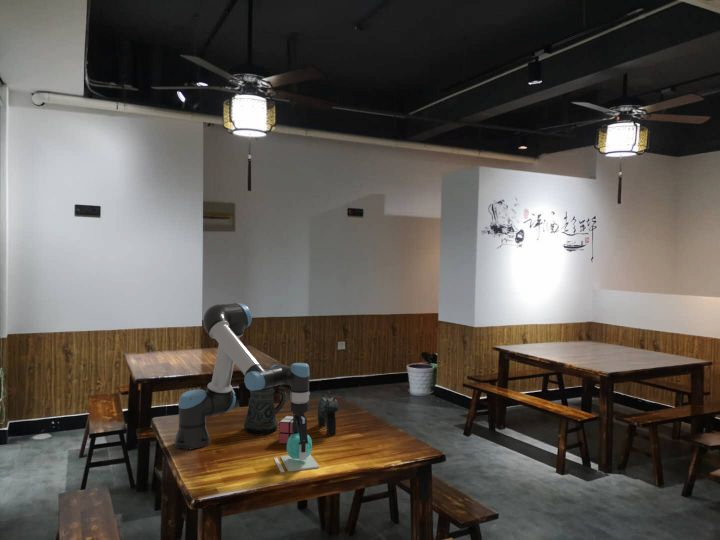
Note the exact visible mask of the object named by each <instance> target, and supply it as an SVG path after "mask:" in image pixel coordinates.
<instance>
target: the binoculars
mask: <svg viewBox="0 0 720 540" xmlns="http://www.w3.org/2000/svg"><path fill="white" fill-rule="evenodd" d="M327 393H328V396H327V395H326V394H322V397H321V398H320V399H319V401H318V405H317V424H318V427H321V426H323V427H326V434H327V435H328V436H333V435H334V434H337V430H336V429H337V422H336V412H338V411H339V403H338V400H337V399H336V397H334V396H332V397H331V398H330V396H331V395H330V393H331V392H330V390H327ZM324 396H325V397H324ZM334 436H335V435H334Z"/></svg>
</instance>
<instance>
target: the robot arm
mask: <svg viewBox="0 0 720 540" xmlns="http://www.w3.org/2000/svg"><path fill="white" fill-rule="evenodd" d="M202 320H203V321H202V323H203V327H204V329H205V332H206V333H207V334H208V335H209V337H210V338H211V339H215V341H216V342H217V343H218V347H217V352H216V358H215V363H214V367H213V373H212V378H211V382H209V383H208V384H207V387H206V390H204V389H201V388H200V389H197V388H196V389H191V390H187V391H184V392H183V393H182V394H181V395H180V396H179V399H178V429H177V433H176V436H175V439H174V447H175V446H176V447H178V448H177V449H179V448H184V449H183V450H193V449H192V448H198V449H200V448H199V447H202V448H204V447H203V446H205V447H207V446H209V444H210V441H211V439H210V435H209V432H208V429H207V418H211V417H213V416H217V415H223V414H225V413H228V412H230V411H232V410H233V408H234V407H235V405H236V401H237V396H236V392H235V390H234V388H233V386H232V385H231V381H232V376H233V372H234V367H235V366H236V367H237V368H238V369H239V371H241V373H242V374H243V375H244V379H243V380H244V381H243V382H244V385H245V387H246V389H247V390H249V391H250V390H251V391H254V390H261V389H264V388H268V387H272V386H276V385H279V386H280V385H286V386H290V401H291V402H290V411H291V412H292V413H293V414H292V416H293V425H292V432H293V434H297V433H299V437H300V443H298V444H299V460H306V444H308V437H307V435H308V426H307V425H308V423H307V421H308V418H307V417H306V415H305V413H307V412H309V411H310V402H309V400H310V395H311V392H310V366H309V364H308V363H307V362H306V363H304V362H294V363H292V364H291V365H290V366H288V365H282V364H273V365H271V366H270V367H269V368H264V367H263V366H262V365H261V364H260V363H259V361H258V360H257V359H256V358H255V357H254V355H253V354H252V353H251V352H250V351H249V350H248V348H247V347H246V346H245V345H244V343H243V342H242V341H241V339H240V338H241V337H243V335H244V333H245V329H247V328H248V327H250V325H251V323H252V320H253V318H252V312H251V310H250V308H249V307H248V306H247V305H246V304H245V303H238V302H233V303H225V304H224V303H222V304H220V303H218V304H214V305H211V306H210V307H209V308H208V309H206V311H205V313H204V315H203V319H202ZM303 440H305V441H303ZM206 445H207V446H206ZM176 447H175V448H176ZM190 448H191V449H190Z"/></svg>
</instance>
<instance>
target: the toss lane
mask: <svg viewBox="0 0 720 540" xmlns="http://www.w3.org/2000/svg"><path fill="white" fill-rule="evenodd" d="M280 459H281V460H282V461H281V462H282V463H283V465H284V466H285V468H286V470H287V471H288V472H296V471H306V470H314V469H319V468H320V465H319V464H318V463H317V461H316V460H315V458H314V457H313V456H312V454H311V453H310V455H309V456H308V457H306V460H299V459H294V458H291V457H290V456H289V455H281V456H280ZM273 460H274V462H275V464H276V466H277V468H278V470H279V473H285V471H286V470H285V469H284V468H283V465H282V464H281V462H280V461H279V459H278V457H273Z"/></svg>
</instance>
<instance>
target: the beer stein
mask: <svg viewBox="0 0 720 540" xmlns="http://www.w3.org/2000/svg"><path fill="white" fill-rule="evenodd" d="M249 393H250V398H249V403H248V409H247V414H246V417H245V420H244V422H243V427H244V432H245V434H247V433H248V434H247V435H251V434H252V436H265V435H272V434H274V433H275V432H277V431H278V428H279V422H278V420H277V419H278V418H277V417H276V415H277V414H278V413H279V412H280V411H281V409H282V408H283V407H284V405H285V404H286V401H287V393H286V390H285V389H284V388H283V387H281V386H280V385H276V386H272V387H268V388H264V389H261V390H254V391H251V390H249ZM274 394H280V395H281V400H280V402H279V403H278V404H277V405H276V407H275V399H274Z"/></svg>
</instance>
